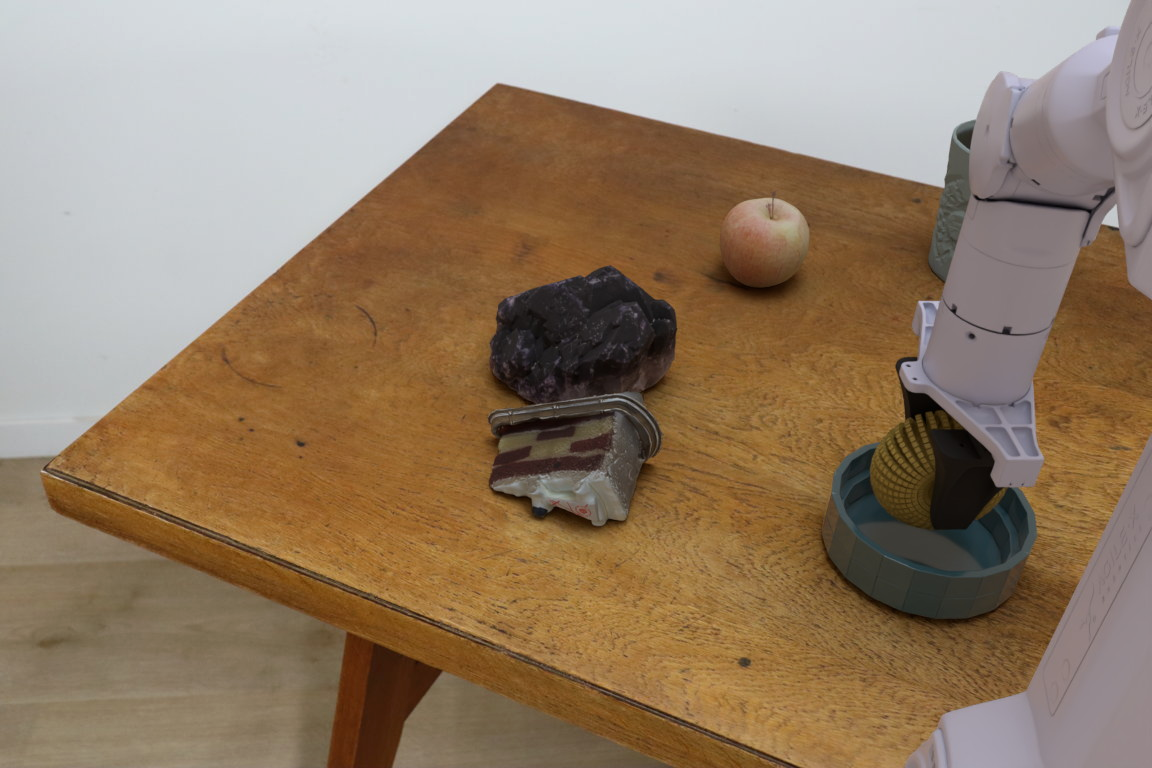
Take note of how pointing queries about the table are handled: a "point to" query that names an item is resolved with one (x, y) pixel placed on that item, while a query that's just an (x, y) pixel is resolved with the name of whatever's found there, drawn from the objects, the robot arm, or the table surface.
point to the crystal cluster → (583, 338)
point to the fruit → (764, 241)
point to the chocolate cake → (575, 453)
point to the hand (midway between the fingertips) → (935, 495)
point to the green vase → (952, 201)
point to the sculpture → (912, 470)
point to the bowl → (924, 549)
